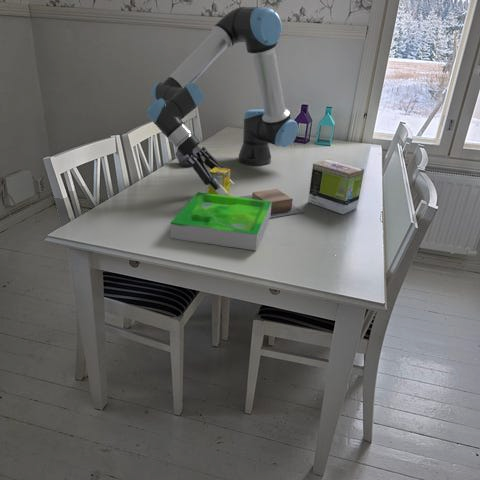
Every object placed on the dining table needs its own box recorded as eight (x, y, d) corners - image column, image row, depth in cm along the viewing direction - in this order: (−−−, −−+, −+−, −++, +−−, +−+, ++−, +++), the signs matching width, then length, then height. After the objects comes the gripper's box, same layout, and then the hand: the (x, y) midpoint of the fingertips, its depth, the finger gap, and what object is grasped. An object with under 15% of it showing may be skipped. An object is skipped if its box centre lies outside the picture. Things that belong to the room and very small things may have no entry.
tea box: (357, 208, 149) (365, 168, 142) (342, 215, 142) (350, 173, 136) (322, 196, 158) (328, 157, 151) (306, 202, 152) (312, 162, 145)
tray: (270, 215, 138) (271, 201, 136) (255, 250, 116) (257, 234, 114) (198, 205, 143) (198, 192, 140) (171, 238, 121) (170, 222, 119)
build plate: (235, 198, 151) (235, 186, 149) (272, 192, 158) (273, 181, 156) (263, 219, 136) (264, 207, 134) (303, 212, 143) (305, 200, 141)
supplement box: (229, 198, 151) (230, 168, 146) (223, 203, 146) (224, 173, 141) (214, 195, 153) (215, 166, 148) (207, 201, 148) (208, 171, 143)
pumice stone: (196, 173, 181) (200, 160, 189) (196, 158, 176) (200, 145, 183) (173, 170, 182) (178, 158, 189) (171, 155, 176) (177, 143, 184)
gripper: (187, 140, 154) (227, 186, 158) (165, 155, 135) (212, 208, 139) (201, 127, 150) (242, 174, 155) (181, 141, 131) (228, 195, 136)
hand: (228, 190), depth 147 cm, fingers open, 9 cm apart
